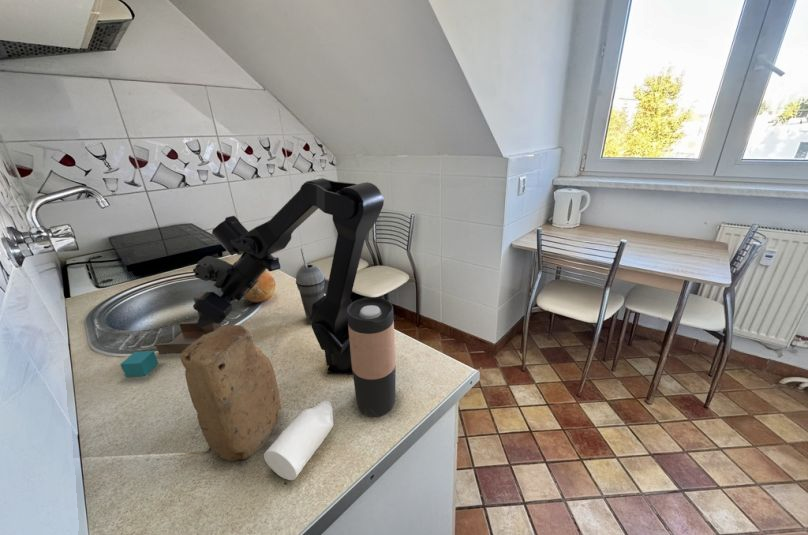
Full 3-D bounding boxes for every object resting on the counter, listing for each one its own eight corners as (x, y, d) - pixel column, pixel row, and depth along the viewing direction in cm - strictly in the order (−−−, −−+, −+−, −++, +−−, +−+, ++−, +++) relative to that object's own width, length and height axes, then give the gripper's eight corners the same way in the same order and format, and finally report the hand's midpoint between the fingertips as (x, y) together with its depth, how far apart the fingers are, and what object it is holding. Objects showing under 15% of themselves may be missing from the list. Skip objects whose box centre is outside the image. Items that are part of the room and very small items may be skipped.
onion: (244, 312, 91) (237, 279, 87) (241, 297, 99) (234, 267, 95) (280, 303, 95) (274, 272, 91) (275, 290, 103) (269, 261, 99)
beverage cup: (322, 327, 83) (313, 255, 75) (296, 325, 84) (284, 253, 76) (334, 313, 89) (326, 245, 81) (309, 311, 90) (299, 243, 83)
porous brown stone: (238, 473, 47) (203, 365, 40) (205, 454, 50) (166, 350, 43) (291, 418, 56) (270, 321, 49) (260, 405, 59) (236, 311, 52)
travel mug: (363, 384, 64) (355, 295, 56) (400, 389, 62) (398, 298, 55) (349, 414, 57) (338, 318, 49) (391, 421, 56) (387, 322, 48)
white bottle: (345, 421, 56) (342, 397, 53) (298, 486, 46) (292, 459, 43) (317, 410, 58) (313, 386, 56) (267, 470, 48) (259, 443, 46)
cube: (153, 350, 68) (134, 351, 68) (140, 363, 65) (120, 364, 65) (159, 365, 70) (140, 366, 70) (146, 378, 66) (127, 379, 66)
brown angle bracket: (230, 331, 82) (218, 285, 77) (212, 354, 73) (197, 304, 68) (184, 333, 81) (168, 287, 76) (160, 356, 73) (140, 306, 68)
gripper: (234, 233, 77) (200, 277, 81) (189, 262, 59) (148, 316, 63) (274, 262, 80) (239, 303, 84) (242, 298, 63) (200, 347, 67)
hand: (209, 315), depth 74 cm, fingers open, 9 cm apart
